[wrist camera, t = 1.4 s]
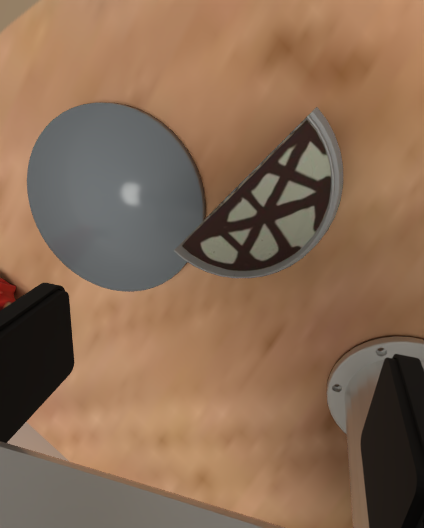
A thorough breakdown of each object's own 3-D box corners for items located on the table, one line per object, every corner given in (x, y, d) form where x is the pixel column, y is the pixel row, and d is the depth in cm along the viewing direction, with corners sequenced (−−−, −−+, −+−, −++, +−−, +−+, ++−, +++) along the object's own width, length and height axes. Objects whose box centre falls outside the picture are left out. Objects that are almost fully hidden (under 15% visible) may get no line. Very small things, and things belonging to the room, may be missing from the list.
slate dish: (213, 112, 31) (209, 113, 30) (199, 300, 38) (195, 306, 37) (26, 94, 35) (16, 94, 34) (44, 269, 41) (36, 274, 40)
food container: (257, 264, 35) (234, 321, 26) (208, 215, 35) (168, 255, 26) (374, 165, 30) (395, 194, 21) (318, 105, 29) (316, 107, 20)
